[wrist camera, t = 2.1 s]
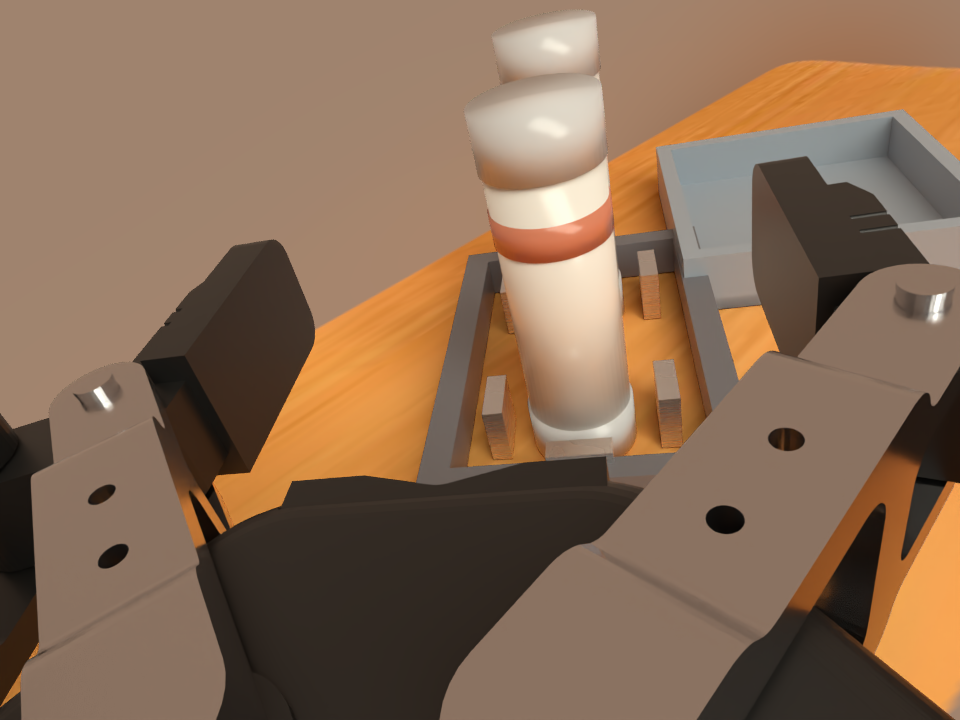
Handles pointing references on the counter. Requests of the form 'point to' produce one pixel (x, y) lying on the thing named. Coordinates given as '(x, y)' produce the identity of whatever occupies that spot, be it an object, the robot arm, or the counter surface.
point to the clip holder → (463, 380)
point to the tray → (838, 158)
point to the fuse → (550, 53)
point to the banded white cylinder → (557, 251)
